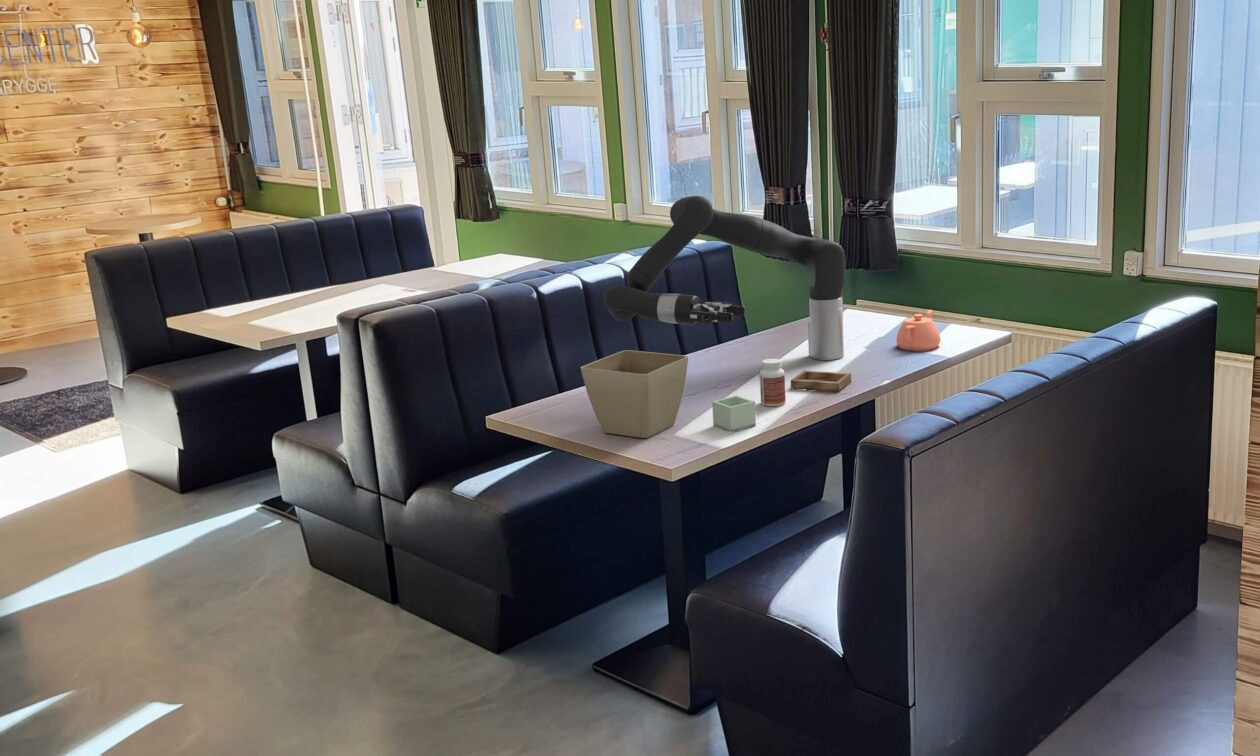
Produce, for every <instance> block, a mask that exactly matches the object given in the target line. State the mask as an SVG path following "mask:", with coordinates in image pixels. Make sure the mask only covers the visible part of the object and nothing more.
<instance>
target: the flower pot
mask: <svg viewBox="0 0 1260 756" xmlns="http://www.w3.org/2000/svg"><path fill="white" fill-rule="evenodd" d="M688 362H689V356H688V355H682V354H681V355H680V354H672V353H661V352H651V351H640V350H632V349H631V350H630V349H629V350H628V349H625V350H623V349H622V350H621V351H617V352H616V353H612V354H610V355H607V356H605V357H603V358H600V359H598V360H594V361H592V362H590V363H587V364H585V365H581V366H580V369H581V370H580V371H581V375H582V376H581V377H582V379H583V383H584V386H585V387H584V388H585V390H586V393H587V395H588V399H589V402H590V405H591V407H592V410H593V411H594V413H595V414H594V415H595V416H596V419H597V420H598V423H599V426H600V428H601V429H602V431H603V433H605V434H612V435H618V436H627V437H633V438H641V439H647V438H650V437H652V436H654V435H656V434H659V433H661V432H662V431H665V430H666V429H668V428H671V427H672V426H674V425H675V423H676V419H677V415H678V414H679V410H680V406H681V403H682V398H683V394H684V389H685V384H686V380H687V379H686V378H687V372H688Z"/></svg>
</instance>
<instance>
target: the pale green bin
mask: <svg viewBox="0 0 1260 756" xmlns="http://www.w3.org/2000/svg"><path fill="white" fill-rule="evenodd" d="M711 403H712V404H711V405H712V418H713V419H712V423H713V427H717V428H719V429H721V428H722V430H724V429H725V430H724V431H727V432H729V431H730V433H734V432H738V431H741V429H742V430H745V428H746V429H749V428H752V427H756V426H757V422H756V421H757V420H756V419H757V418H756V401H754V400H751V399H748V398H746V397H742V396H740V395H732V396H729V397H725V398H721V399H717V400H713V401H711ZM737 430H738V431H737ZM733 431H734V432H733Z"/></svg>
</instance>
